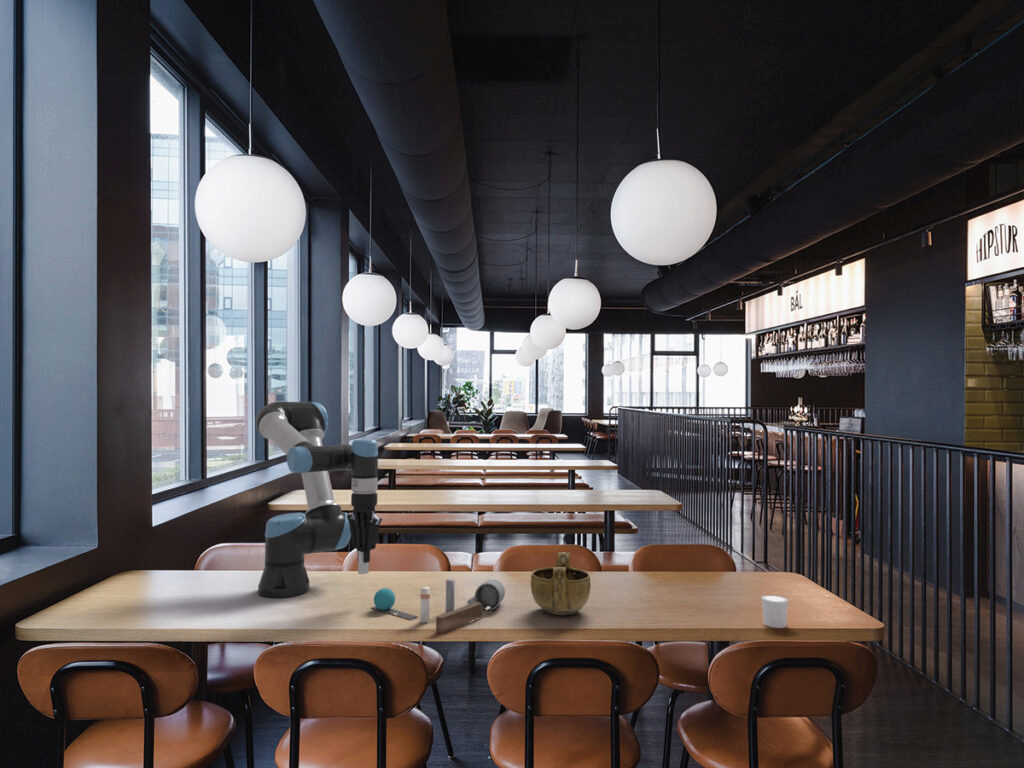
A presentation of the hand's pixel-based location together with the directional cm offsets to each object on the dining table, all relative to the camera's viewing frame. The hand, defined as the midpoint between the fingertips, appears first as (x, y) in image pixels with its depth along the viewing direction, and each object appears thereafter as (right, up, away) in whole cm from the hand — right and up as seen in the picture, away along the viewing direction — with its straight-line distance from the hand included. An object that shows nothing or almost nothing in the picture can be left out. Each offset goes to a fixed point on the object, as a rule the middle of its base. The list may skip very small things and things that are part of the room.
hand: (363, 573), depth 190 cm
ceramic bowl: (+57, -10, -6) cm, 58 cm away
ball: (+7, -6, -6) cm, 11 cm away
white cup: (+115, -10, -14) cm, 116 cm away
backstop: (+30, -9, -18) cm, 35 cm away
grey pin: (+26, -9, -7) cm, 28 cm away
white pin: (+20, -9, -15) cm, 27 cm away
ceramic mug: (+36, -10, -1) cm, 37 cm away
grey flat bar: (+10, -9, -8) cm, 16 cm away
